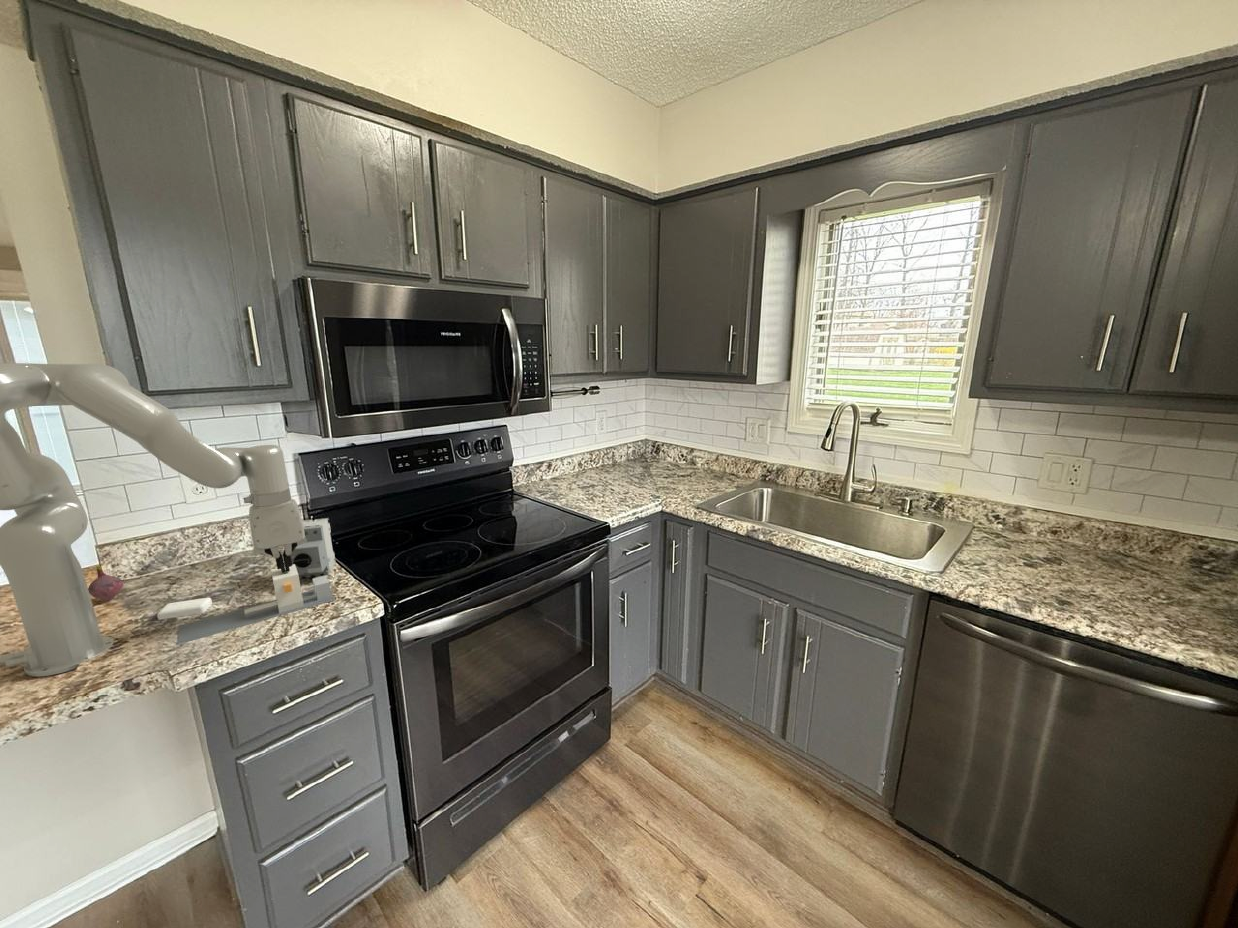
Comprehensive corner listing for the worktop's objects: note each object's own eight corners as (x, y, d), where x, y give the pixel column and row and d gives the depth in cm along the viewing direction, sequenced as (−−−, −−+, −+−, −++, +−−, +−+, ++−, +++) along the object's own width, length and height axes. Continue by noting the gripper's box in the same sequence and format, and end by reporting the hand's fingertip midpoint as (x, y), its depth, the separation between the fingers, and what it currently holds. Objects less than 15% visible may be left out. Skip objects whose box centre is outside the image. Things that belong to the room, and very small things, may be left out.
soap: (214, 606, 123) (211, 595, 123) (204, 617, 118) (202, 606, 117) (169, 613, 120) (167, 602, 120) (158, 625, 115) (155, 613, 115)
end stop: (317, 600, 123) (315, 585, 122) (314, 593, 127) (312, 578, 126) (331, 596, 125) (329, 582, 124) (328, 589, 129) (325, 575, 128)
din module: (279, 615, 116) (273, 581, 114) (276, 601, 123) (270, 569, 121) (304, 608, 119) (298, 575, 117) (300, 594, 126) (294, 564, 124)
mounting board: (177, 648, 105) (176, 644, 105) (180, 629, 113) (179, 625, 113) (336, 603, 123) (335, 599, 123) (329, 588, 131) (328, 585, 131)
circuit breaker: (290, 592, 130) (280, 538, 126) (307, 569, 143) (299, 520, 140) (322, 587, 132) (313, 535, 128) (336, 566, 145) (328, 517, 142)
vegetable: (89, 602, 126) (79, 566, 124) (123, 592, 131) (113, 557, 128) (95, 609, 122) (84, 571, 120) (129, 598, 127) (119, 563, 125)
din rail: (245, 618, 115) (244, 613, 115) (245, 614, 117) (244, 609, 117) (319, 597, 124) (318, 593, 124) (317, 594, 126) (317, 590, 126)
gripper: (231, 508, 108) (248, 585, 112) (310, 495, 117) (323, 566, 121) (231, 501, 114) (246, 574, 118) (306, 488, 123) (318, 557, 127)
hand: (285, 570), depth 120 cm, fingers closed
